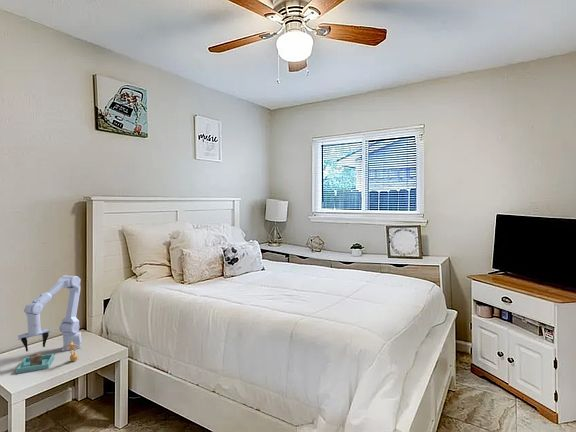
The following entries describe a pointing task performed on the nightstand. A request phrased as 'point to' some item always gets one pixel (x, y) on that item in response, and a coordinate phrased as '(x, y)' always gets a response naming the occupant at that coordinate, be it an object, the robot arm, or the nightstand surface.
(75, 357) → the figurine
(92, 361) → the nightstand surface
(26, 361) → the teal tray
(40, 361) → the walnut block
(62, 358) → the nightstand surface
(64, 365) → the nightstand surface
